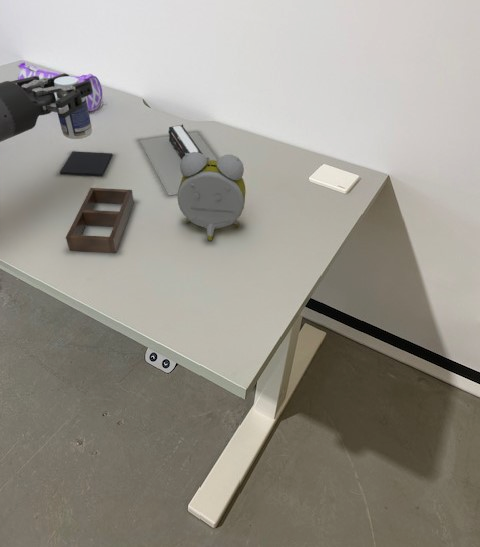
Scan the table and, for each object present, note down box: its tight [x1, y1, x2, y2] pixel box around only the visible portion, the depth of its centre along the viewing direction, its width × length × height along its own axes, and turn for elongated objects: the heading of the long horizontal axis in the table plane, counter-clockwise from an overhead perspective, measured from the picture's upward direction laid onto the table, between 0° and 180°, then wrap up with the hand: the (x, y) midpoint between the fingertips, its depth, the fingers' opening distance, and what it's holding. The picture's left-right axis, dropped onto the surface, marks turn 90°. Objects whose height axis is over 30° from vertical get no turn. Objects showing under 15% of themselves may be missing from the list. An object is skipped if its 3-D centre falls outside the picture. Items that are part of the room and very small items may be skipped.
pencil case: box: [17, 61, 103, 112], centre depth 111 cm, size 22×9×10 cm, turn 72°
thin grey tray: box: [139, 123, 218, 196], centre depth 94 cm, size 14×25×4 cm, turn 23°
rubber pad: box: [59, 150, 113, 177], centre depth 92 cm, size 9×9×1 cm
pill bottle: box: [54, 75, 93, 140], centre depth 76 cm, size 5×5×10 cm
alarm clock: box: [177, 152, 247, 241], centre depth 73 cm, size 12×7×15 cm, turn 86°
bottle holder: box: [65, 187, 135, 254], centre depth 77 cm, size 8×15×3 cm, turn 179°
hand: (78, 83), depth 75 cm, fingers closed on pill bottle, 5 cm apart
